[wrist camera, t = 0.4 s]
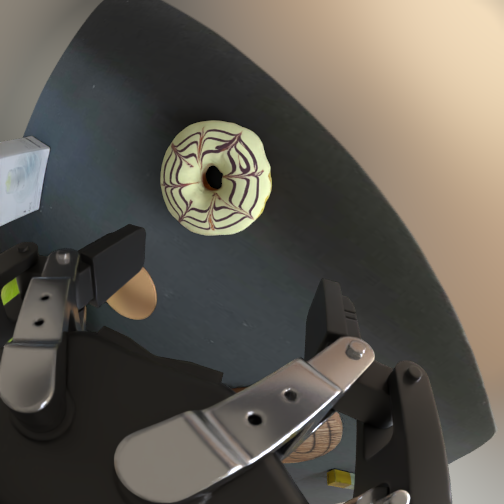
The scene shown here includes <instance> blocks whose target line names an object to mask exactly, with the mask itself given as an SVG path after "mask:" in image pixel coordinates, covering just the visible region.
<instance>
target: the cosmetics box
mask: <svg viewBox="0 0 504 504" xmlns="http://www.w3.org/2000/svg"><path fill="white" fill-rule="evenodd" d="M49 151H50V147H48V146H47V145H45V144H43V143H42V142H40V141H39V140H37V139H36V138H34V137H33V136H29V137H25V138H19V139H13V140H8V141H3V142H0V226H2V225H4V224H6V223H8V222H10V221H12V220H15V219H17V218H19V217H21V216H24V215H26V214H28V213H31V212H33V211H36V210H38V209H39V206H40V198H41V192H42V186H43V180H44V175H45V169H46V165H47V160H48V156H49Z"/></svg>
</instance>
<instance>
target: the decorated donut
mask: <svg viewBox="0 0 504 504" xmlns="http://www.w3.org/2000/svg"><path fill="white" fill-rule="evenodd" d="M213 165H214V166H216V167H217V168H218V169H219V171H220V172H221V173H223V177H222V186H221V188H220V189H214V188H213V187H210V185H209V184H208V183H207V180H206V172H207V169H208V168H209V167H210V166H213ZM270 175H271V174H270V165H269V163H268V160H267V158H266V156H265V152H264V148H263V144H262V142H261V140H260V138H259V137H258V136H257V135H256V134H255V133H254V132H252V131H251V130H249V129H246V128H244V127H241V126H239V125H237V124H235V123H228V122H224V121H214V120H211V121H204V122H198V123H195V124H192V125H190V126H188V127H186V128H185V129H184V130H183V131H181V132H180V133H179V134H178V135H177V136H176V137H175V138H174V140H173V141H172V143H171V145H170V146H169V147H168V149H167V151H166V153H165V156H164V159H163V163H162V168H161V182H160V183H161V189H162V194H163V198H164V201H165V203H166V205H167V208H168V210H169V212H170V213H171V214H172V216H173V217H175V218H176V219H177V220H178V221H179V222H180V223H181V224H182V225H183V226H184V227H186V228H188V229H189V230H190V231H192V232H194V233H198V234H202V235H207V236H208V235H209V236H210V235H224V234H226V235H228V234H234V233H237V232H240V231H242V230H244V229H245V228H246V227H248V226H249V225H250V224H251V223H252V222H253V221H255V220H256V219H257V218H258V217H259V216H260V215H261V213H262V212H263V210H264V207H265V203H266V201H267V199H268V198H269V195H270V192H271V188H272V179H271V176H270Z"/></svg>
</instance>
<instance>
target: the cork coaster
mask: <svg viewBox="0 0 504 504" xmlns="http://www.w3.org/2000/svg"><path fill="white" fill-rule="evenodd" d="M107 302H108V304H109V305H110V306H111V307H112V308H113V309H114V310H116V311H117V312H118V313H120V314H121V315H123V316H125V317H128V318H131V319H144V318H146V317H148V316H149V315H150V314H151V313H152V312H153V311H154V309H155V307H156V303H157V294H156V289H155V286H154V283H153V281H152V279H151V277H150V275H149V274H148V272H147V271H146V270H145V269H144V267H142V269H141V271H140V272H139V273H138V274H136V275H135V276H134V277H133V278H132V279H131V280H129V281H128V282H127V283H126V284H125V285H124V286H123V287H121V288H120V289H119V290H118V291H117V292H116V293H115V294H113V295H112V296H111V297H110V298H109V299H108V300H107Z"/></svg>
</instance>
